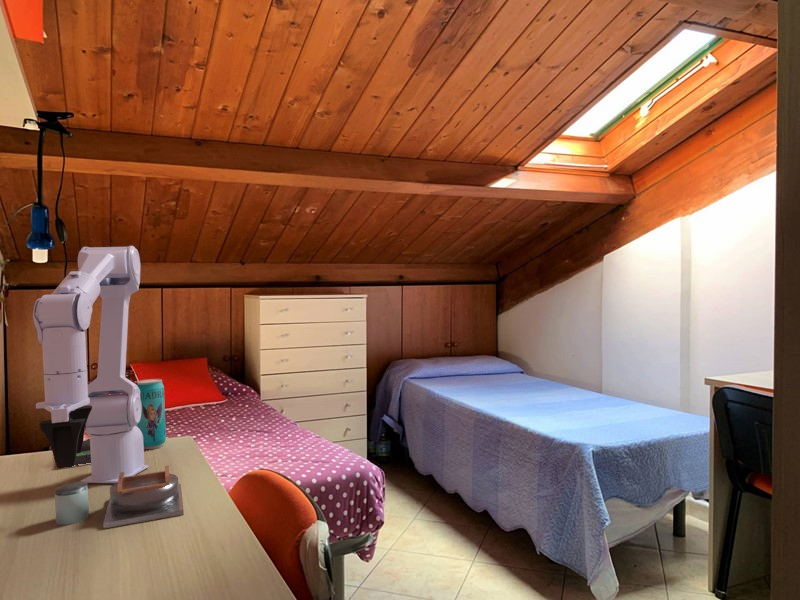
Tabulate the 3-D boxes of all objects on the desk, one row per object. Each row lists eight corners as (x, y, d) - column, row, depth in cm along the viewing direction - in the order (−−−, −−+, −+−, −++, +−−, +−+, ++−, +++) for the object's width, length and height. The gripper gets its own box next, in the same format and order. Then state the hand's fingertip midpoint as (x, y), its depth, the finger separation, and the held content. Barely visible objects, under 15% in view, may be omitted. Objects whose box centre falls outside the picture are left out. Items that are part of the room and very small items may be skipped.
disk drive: (65, 454, 125) (65, 470, 113) (64, 441, 125) (64, 457, 113) (117, 446, 131) (122, 461, 118) (116, 434, 131) (121, 448, 118)
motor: (110, 499, 94) (109, 468, 94) (180, 488, 99) (179, 458, 98) (103, 528, 82) (101, 492, 82) (183, 514, 87) (182, 480, 87)
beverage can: (141, 452, 122) (138, 383, 122) (136, 446, 127) (133, 380, 127) (169, 447, 126) (166, 380, 126) (162, 442, 130) (160, 377, 130)
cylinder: (58, 516, 88) (57, 484, 88) (90, 511, 89) (89, 480, 89) (53, 527, 84) (52, 493, 84) (87, 521, 85) (85, 488, 85)
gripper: (44, 368, 91) (48, 451, 91) (24, 380, 78) (29, 477, 78) (93, 365, 94) (97, 445, 94) (82, 376, 81) (86, 469, 81)
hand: (69, 459), depth 86 cm, fingers open, 7 cm apart
